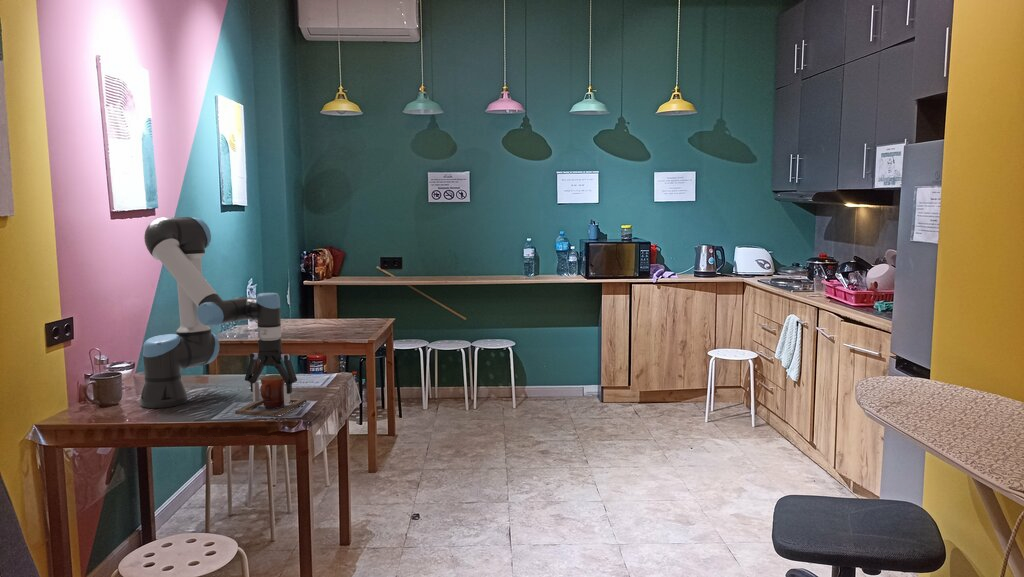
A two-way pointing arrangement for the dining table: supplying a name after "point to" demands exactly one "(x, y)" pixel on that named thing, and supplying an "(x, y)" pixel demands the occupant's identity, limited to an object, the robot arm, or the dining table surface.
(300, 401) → the frame
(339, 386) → the dining table surface
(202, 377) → the dining table surface
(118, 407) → the dining table surface
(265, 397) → the mug
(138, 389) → the dining table surface
